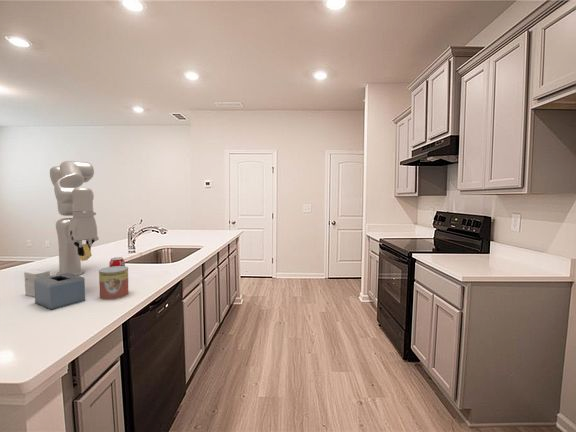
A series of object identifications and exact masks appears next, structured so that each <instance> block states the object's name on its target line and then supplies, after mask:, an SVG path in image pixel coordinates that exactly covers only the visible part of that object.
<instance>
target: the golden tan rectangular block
mask: <svg viewBox="0 0 576 432" xmlns="http://www.w3.org/2000/svg"><path fill="white" fill-rule="evenodd" d="M82 247H83V256H80V259H81V262H83V261H84V262H85V261H88V260H89V259H90V258H91V257H92V256H93V255H92V250H91V251H90V249H89V247H88V244H86V243H85V244H83V243H82ZM77 251H78V249H77Z"/></svg>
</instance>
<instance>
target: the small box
mask: <svg viewBox="0 0 576 432" xmlns="http://www.w3.org/2000/svg"><path fill="white" fill-rule="evenodd" d="M23 274H24V277H23V278H24V289H25V290H24V291H25V296H27V297H33V298H35V289H34V279H38V278H43V277H48V276H51V271H50V270H46V269H33V270H28V271H24V272H23Z"/></svg>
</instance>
